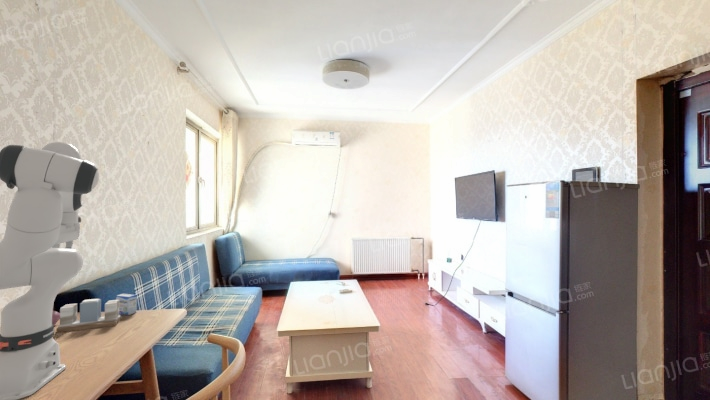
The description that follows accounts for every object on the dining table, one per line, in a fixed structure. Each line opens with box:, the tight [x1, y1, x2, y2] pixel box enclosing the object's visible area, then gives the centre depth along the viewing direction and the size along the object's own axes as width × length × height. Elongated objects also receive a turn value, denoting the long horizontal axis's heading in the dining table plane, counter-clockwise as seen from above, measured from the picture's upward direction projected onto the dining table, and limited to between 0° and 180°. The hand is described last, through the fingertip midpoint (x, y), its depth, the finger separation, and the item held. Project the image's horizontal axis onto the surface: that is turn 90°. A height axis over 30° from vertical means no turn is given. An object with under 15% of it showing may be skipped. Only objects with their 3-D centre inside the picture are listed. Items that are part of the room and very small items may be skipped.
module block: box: [79, 298, 102, 323], centre depth 135 cm, size 4×6×9 cm
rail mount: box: [55, 299, 122, 333], centre depth 136 cm, size 8×20×9 cm, turn 114°
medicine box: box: [115, 293, 138, 316], centre depth 151 cm, size 8×4×9 cm, turn 77°
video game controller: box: [52, 310, 60, 326], centre depth 135 cm, size 10×5×7 cm, turn 86°
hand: (62, 253), depth 128 cm, fingers open, 8 cm apart
